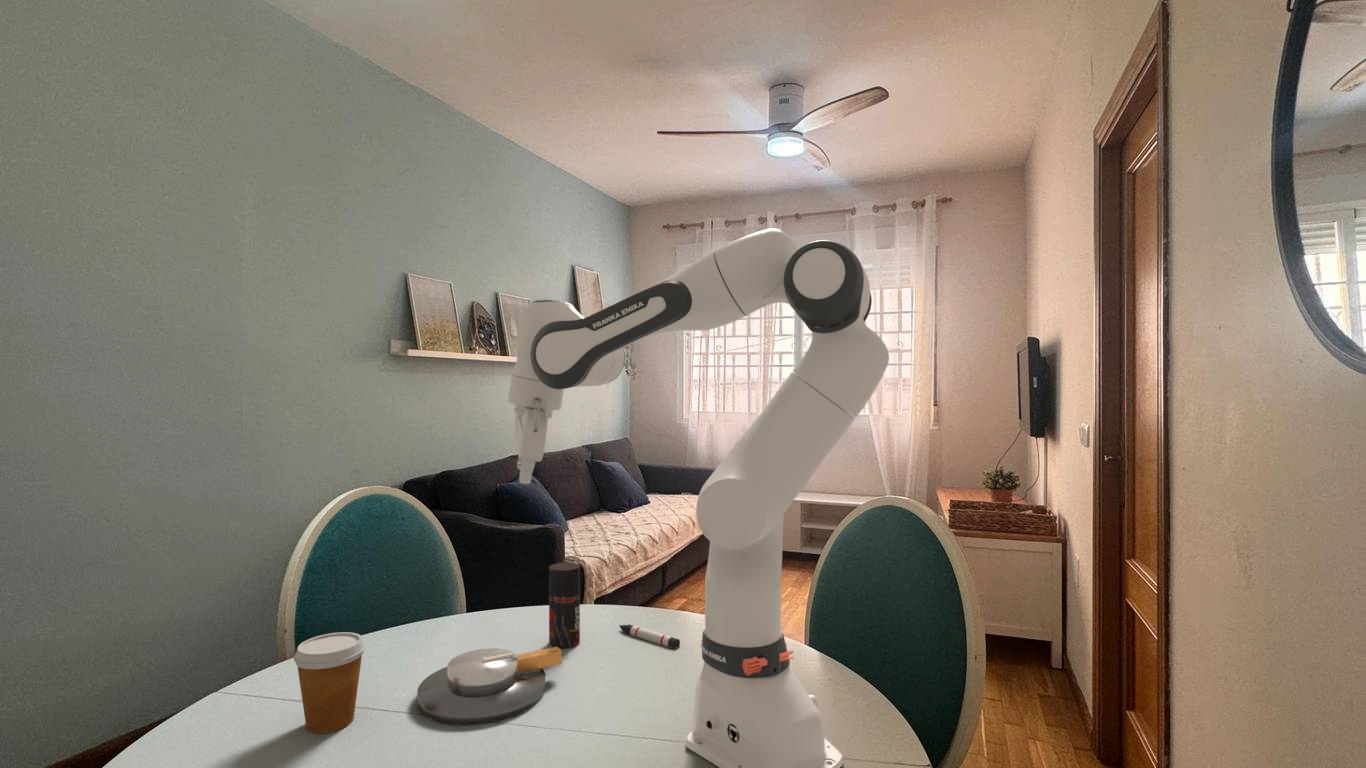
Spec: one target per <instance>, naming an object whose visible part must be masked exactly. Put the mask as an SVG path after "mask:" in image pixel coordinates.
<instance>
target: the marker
mask: <svg viewBox="0 0 1366 768" xmlns="http://www.w3.org/2000/svg"><path fill="white" fill-rule="evenodd" d="M619 628H620V630H621V631H623V632H624V633H625V634H627V635H630V636H632V635H633V637H635V636H636V637H635V638H638V637H639V638H638V639H641V638H642V640H644V639H645V641H648V640H649V641H648V642H651V643H654V642H655V644H657V643H658V645H660V644H661V645H660V646H664V647H667V648H670V647H671V649H674V648H676V647H678V648H679V647H680V646H681V641H680V639H679V638H676V637H673V636H669V635H667V634H663V633H660V632H657V631H653V630H650V629H647V628H643V627H641V626H637V625H633V624H629V623H628V624H619ZM676 649H677V648H676Z"/></svg>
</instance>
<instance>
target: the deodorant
mask: <svg viewBox="0 0 1366 768" xmlns="http://www.w3.org/2000/svg"><path fill="white" fill-rule="evenodd" d="M580 568H581V565H580V564H579V563H576V562H560V563H559V562H557V563H554V564H553V563H552V564H551V565H550V566H548V644H549V645H548V646H549V647H550V648H553V647H558V648H559V649H560V650H568V649H573V648H574V647H577V646H579V644H580V642H581V619H580V617H581V612H580V611H581V607H580V605H581V603H580V601H581V594H580V593H581V590H580V589H581V585H580V584H581V576H580V575H581V572H580V571H581V570H580Z"/></svg>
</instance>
